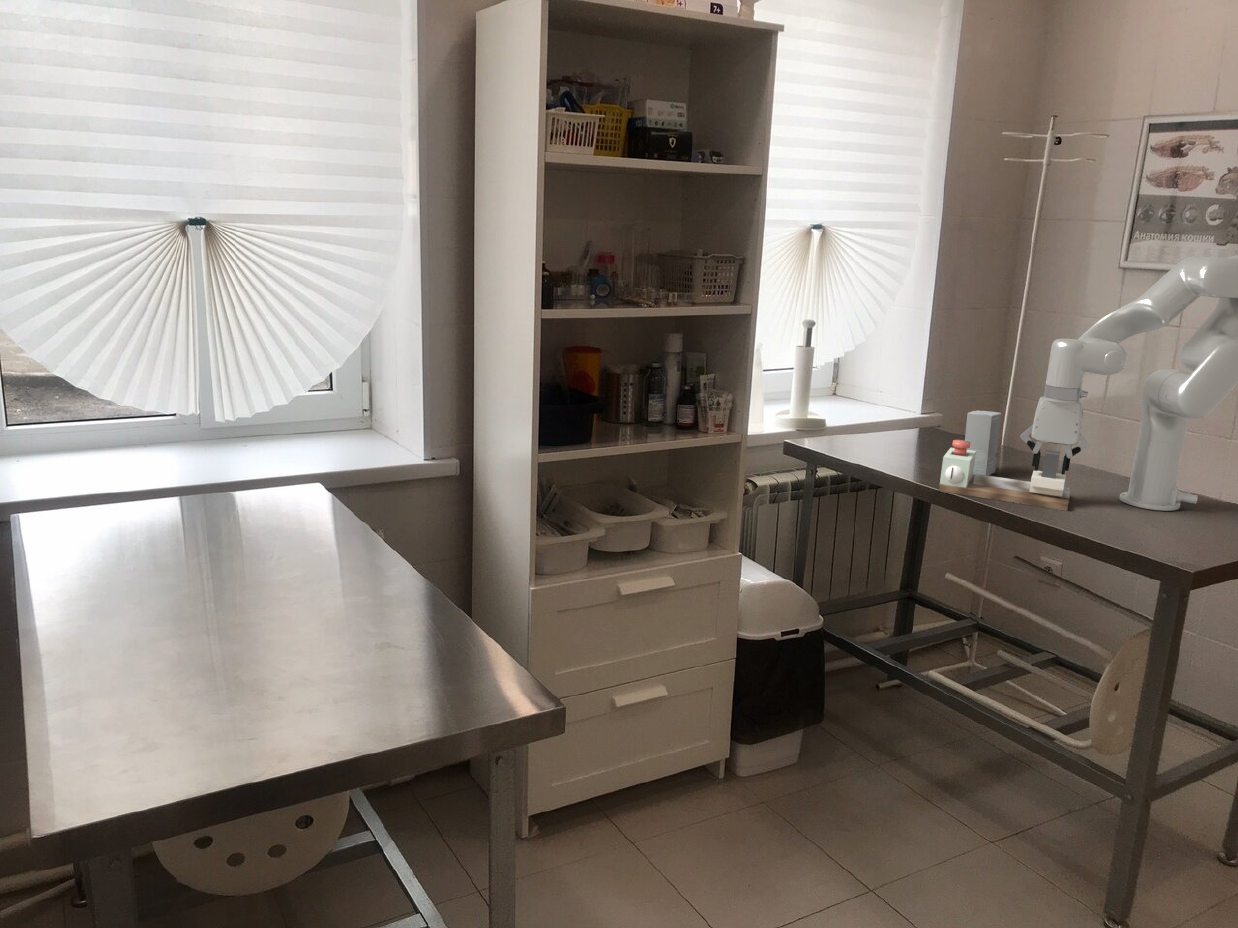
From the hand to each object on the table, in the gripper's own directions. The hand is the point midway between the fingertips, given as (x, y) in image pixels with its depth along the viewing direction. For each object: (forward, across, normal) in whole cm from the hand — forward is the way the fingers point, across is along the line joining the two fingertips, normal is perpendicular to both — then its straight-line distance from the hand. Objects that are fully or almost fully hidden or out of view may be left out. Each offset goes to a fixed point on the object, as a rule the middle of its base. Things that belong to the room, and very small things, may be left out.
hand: (1049, 470), depth 228 cm
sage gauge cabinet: (+6, +20, 0) cm, 21 cm away
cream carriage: (+5, 0, 0) cm, 5 cm away
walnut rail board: (+7, +9, 0) cm, 11 cm away
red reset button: (-1, +20, 0) cm, 20 cm away
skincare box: (+7, +17, -18) cm, 26 cm away
